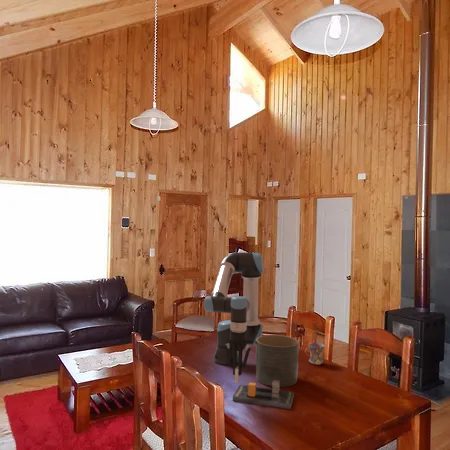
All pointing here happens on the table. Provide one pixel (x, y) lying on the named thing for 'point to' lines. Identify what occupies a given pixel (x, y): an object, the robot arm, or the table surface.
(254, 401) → the panel
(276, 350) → the planter
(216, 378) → the table surface
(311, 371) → the table surface
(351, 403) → the table surface
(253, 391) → the handle
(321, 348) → the mug
